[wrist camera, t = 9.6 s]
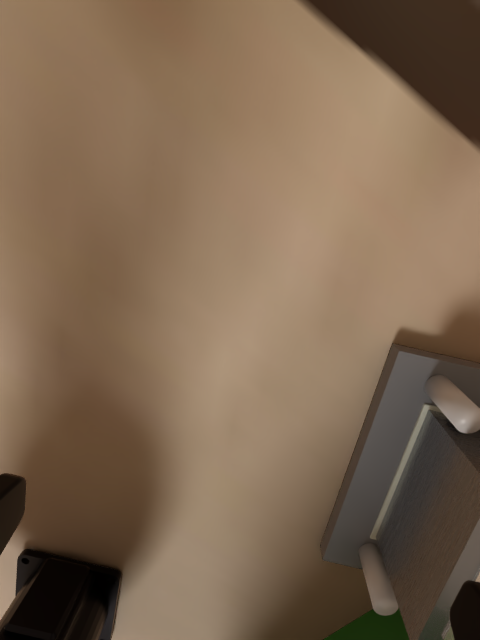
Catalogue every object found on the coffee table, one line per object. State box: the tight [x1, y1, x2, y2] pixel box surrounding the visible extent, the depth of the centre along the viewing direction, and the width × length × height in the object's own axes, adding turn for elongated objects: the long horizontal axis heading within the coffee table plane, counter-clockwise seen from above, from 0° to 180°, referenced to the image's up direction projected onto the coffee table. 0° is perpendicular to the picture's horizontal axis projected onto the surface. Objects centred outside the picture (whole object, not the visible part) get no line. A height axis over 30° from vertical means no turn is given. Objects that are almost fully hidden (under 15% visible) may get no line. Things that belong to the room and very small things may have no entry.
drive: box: [376, 410, 480, 640], centre depth 17 cm, size 8×4×6 cm, turn 168°
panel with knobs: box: [320, 343, 480, 616], centre depth 19 cm, size 13×9×4 cm
